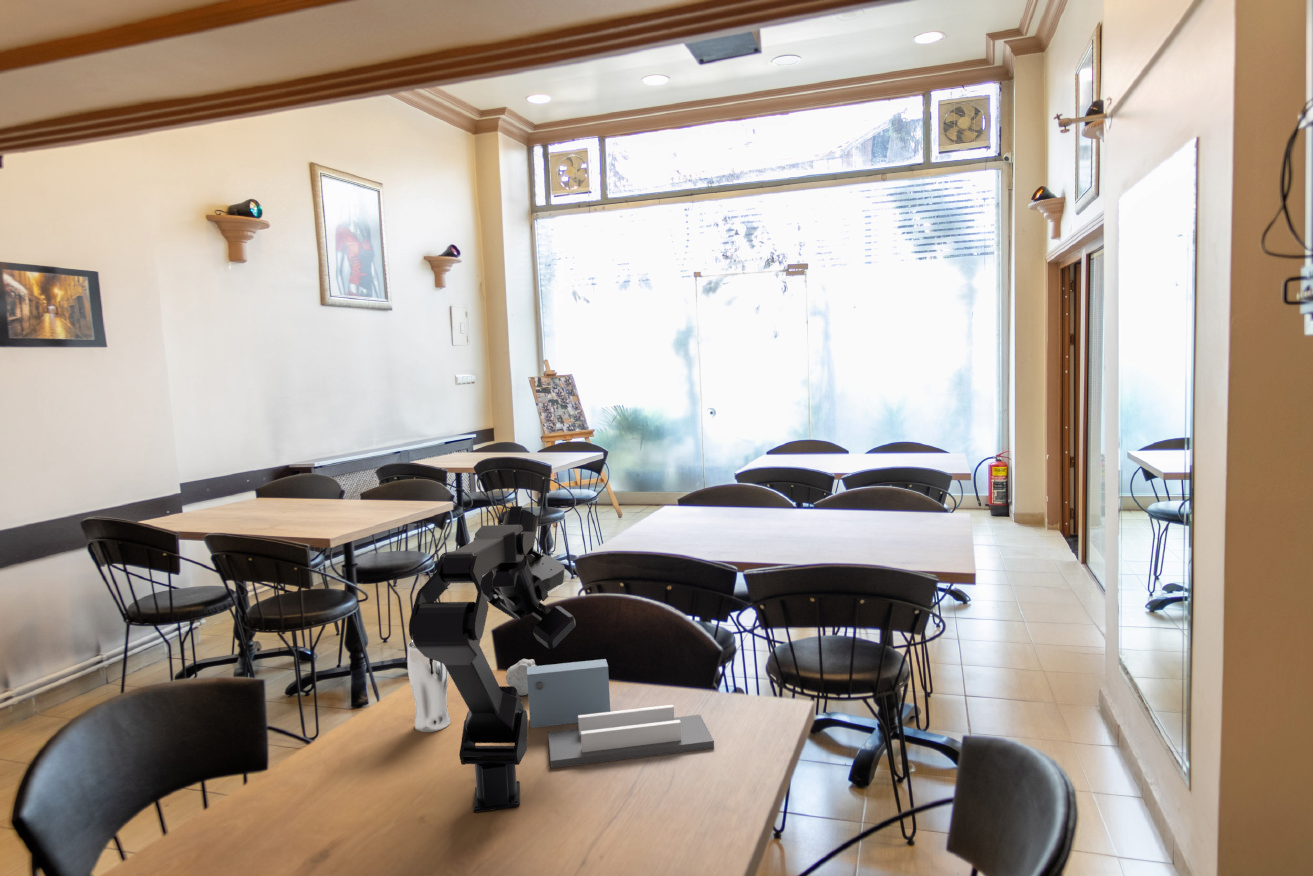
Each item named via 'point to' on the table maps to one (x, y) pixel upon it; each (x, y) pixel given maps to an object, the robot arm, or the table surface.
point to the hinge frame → (628, 736)
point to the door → (567, 692)
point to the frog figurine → (519, 675)
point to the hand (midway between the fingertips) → (534, 630)
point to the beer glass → (428, 690)
